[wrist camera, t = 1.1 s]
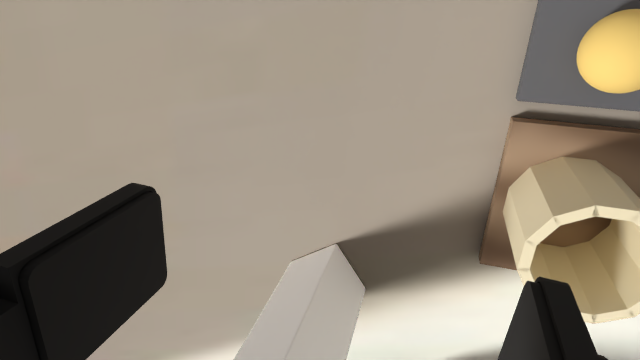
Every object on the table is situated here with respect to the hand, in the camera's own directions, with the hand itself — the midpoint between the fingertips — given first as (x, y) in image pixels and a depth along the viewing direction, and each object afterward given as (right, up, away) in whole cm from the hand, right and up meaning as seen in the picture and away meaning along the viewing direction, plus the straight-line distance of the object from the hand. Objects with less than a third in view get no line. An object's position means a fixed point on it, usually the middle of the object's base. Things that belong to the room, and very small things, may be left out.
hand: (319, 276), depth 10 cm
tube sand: (+19, 0, +22) cm, 29 cm away
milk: (+1, -7, +33) cm, 34 cm away
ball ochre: (+19, +10, +15) cm, 26 cm away
